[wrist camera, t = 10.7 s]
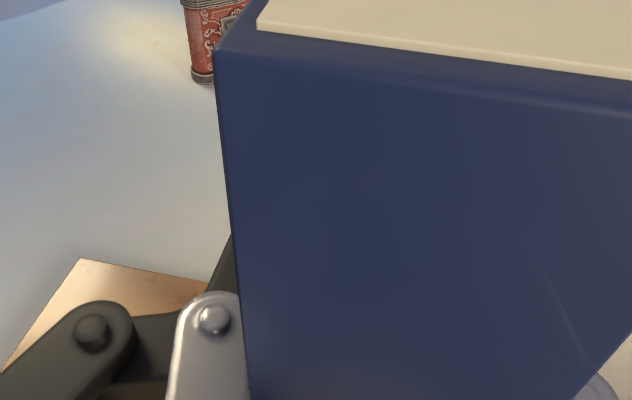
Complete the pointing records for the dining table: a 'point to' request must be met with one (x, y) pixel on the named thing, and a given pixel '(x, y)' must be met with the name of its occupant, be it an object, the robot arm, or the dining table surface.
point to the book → (428, 195)
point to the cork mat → (111, 295)
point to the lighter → (207, 31)
